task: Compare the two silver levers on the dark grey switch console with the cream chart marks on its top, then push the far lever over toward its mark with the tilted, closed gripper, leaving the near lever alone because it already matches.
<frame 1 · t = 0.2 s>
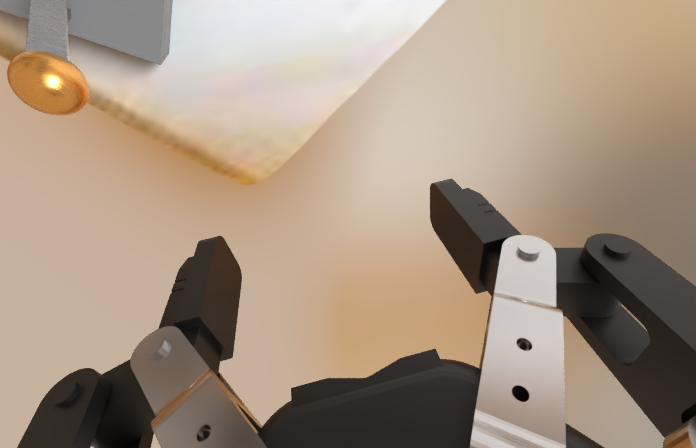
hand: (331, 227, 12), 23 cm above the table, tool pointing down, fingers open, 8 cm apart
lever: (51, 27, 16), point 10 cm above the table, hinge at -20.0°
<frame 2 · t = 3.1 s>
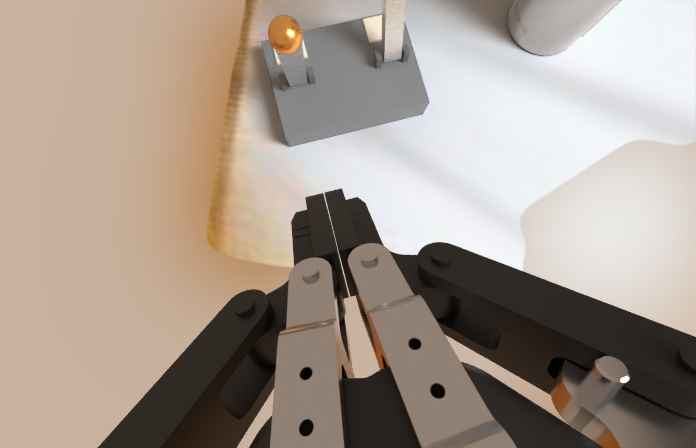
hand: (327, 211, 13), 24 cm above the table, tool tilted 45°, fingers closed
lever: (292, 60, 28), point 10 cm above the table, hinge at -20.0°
switch console: (344, 86, 38), on the table
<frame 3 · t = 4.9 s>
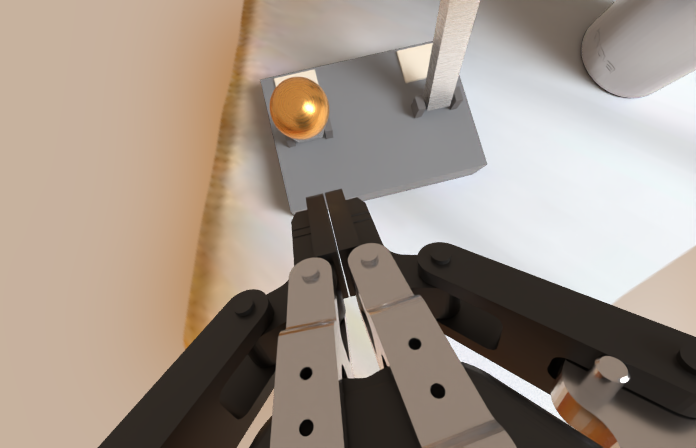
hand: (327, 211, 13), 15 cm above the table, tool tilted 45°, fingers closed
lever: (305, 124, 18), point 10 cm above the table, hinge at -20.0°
switch console: (369, 135, 29), on the table
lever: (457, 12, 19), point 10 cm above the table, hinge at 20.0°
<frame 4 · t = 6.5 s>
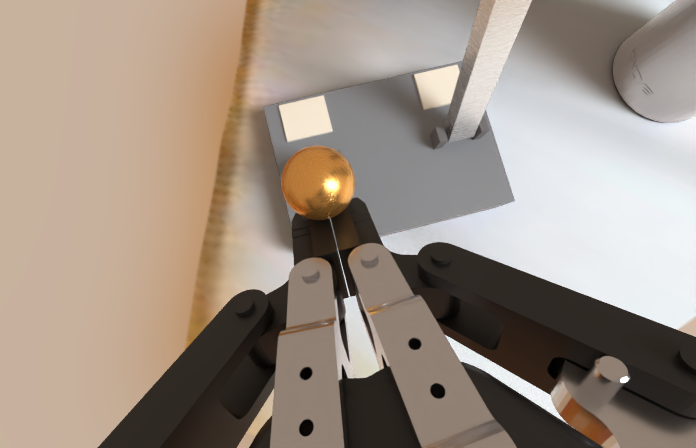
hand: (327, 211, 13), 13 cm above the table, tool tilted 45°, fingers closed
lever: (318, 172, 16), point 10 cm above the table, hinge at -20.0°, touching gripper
switch console: (382, 165, 27), on the table
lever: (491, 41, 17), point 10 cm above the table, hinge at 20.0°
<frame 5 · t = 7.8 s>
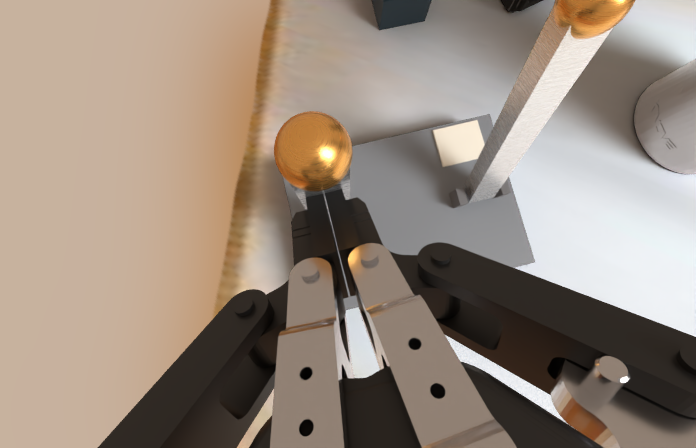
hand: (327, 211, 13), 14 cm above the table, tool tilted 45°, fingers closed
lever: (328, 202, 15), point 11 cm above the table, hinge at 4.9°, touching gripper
watch: (395, 0, 29), on the table
switch console: (398, 217, 26), on the table
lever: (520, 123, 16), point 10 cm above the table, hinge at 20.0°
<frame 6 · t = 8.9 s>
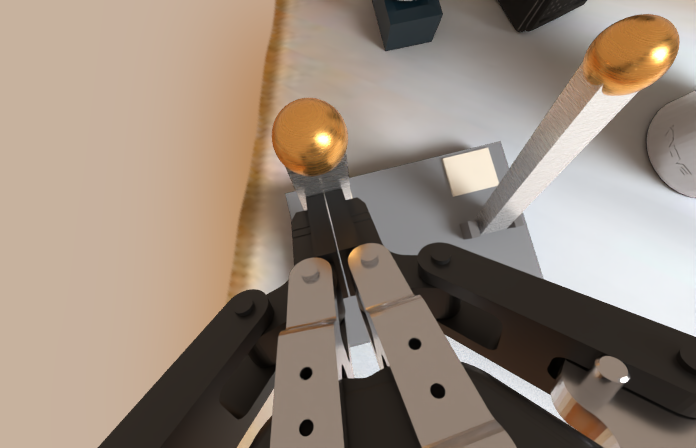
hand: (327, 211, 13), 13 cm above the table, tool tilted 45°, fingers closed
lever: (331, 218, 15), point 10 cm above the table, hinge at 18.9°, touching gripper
watch: (401, 19, 28), on the table
switch console: (407, 244, 26), on the table
portable radio: (528, 1, 28), on the table
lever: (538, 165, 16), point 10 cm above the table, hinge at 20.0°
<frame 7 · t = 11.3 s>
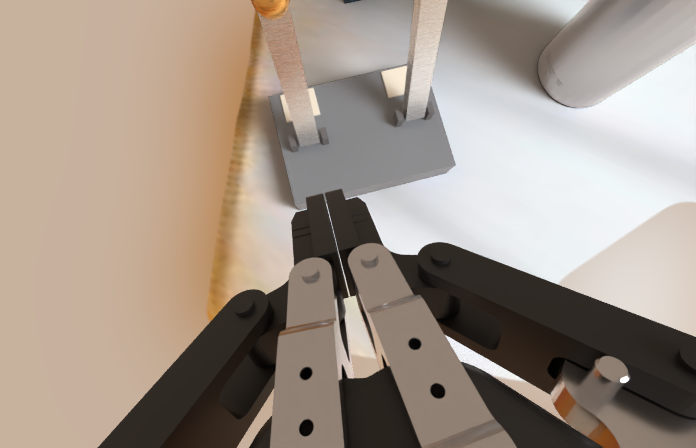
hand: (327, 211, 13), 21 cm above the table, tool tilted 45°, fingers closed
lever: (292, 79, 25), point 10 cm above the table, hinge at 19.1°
switch console: (359, 141, 35), on the table
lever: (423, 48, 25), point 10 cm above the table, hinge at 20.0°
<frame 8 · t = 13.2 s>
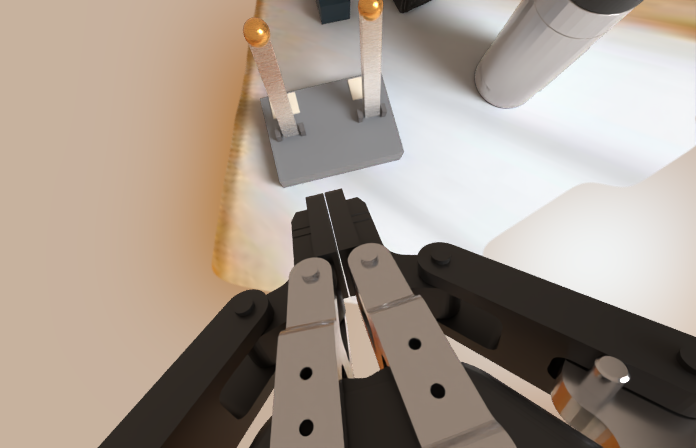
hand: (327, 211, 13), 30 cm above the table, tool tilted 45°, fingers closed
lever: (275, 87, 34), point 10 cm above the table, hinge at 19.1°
watch: (332, 6, 47), on the table
switch console: (332, 134, 44), on the table
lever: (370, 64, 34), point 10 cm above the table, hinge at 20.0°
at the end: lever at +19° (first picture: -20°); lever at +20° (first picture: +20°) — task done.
